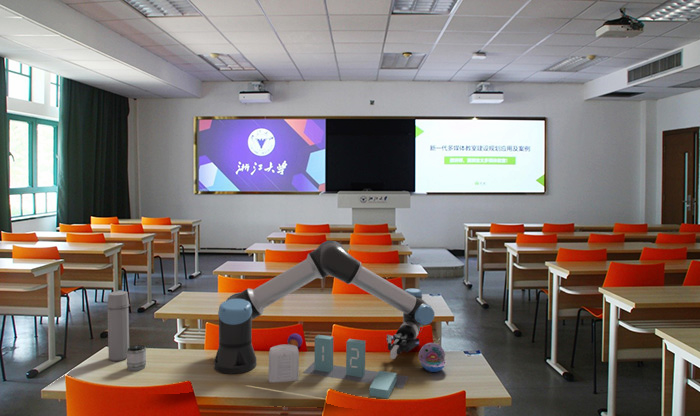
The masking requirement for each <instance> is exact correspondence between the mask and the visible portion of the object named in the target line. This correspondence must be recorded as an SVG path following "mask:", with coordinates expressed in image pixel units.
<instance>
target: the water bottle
mask: <svg viewBox="0 0 700 416" xmlns="http://www.w3.org/2000/svg"><path fill="white" fill-rule="evenodd" d="M107 295H108V297H107V305H106V308H107V347H108V348H107V349H108V359H109V360H110V361H113V362H120V361H124V360H127V349H128V348H129V347H130V322H129V321H130V320H129V315H130V314H129V307H130V305H131V304H130V300H129V294H128V291H125V290H117V291H111V292H109V293H108V294H107Z"/></svg>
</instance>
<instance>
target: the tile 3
mask: <svg viewBox="0 0 700 416" xmlns="http://www.w3.org/2000/svg"><path fill="white" fill-rule="evenodd" d="M377 372H378V374H377V376H376V377H375V379H374V381H373V382H372V384H371V383H370V386H369V396H371V397H375V398H376V397H377V398H383V399H389V397H390V395H391V394H392V392H393V390H394V388H395V387H394V386H395V384H396V382H397V375H398V373H397V372H390V371H384V370H379V371H377Z"/></svg>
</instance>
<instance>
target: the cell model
mask: <svg viewBox="0 0 700 416" xmlns="http://www.w3.org/2000/svg"><path fill="white" fill-rule="evenodd" d="M446 355H447V353H445V350H444V348H443V346H441V345H440V344H438V343H434V342H428V343H426V344H424V345H422V346H421V348H420V350H419V352H418V360H419V363H420V364H421V366H422V368H423V369H425V370H426V371H428V372H430V373H437V372H440V371H442V370H443V369H445V366H446V364H447V360H446V359H445V357H446Z"/></svg>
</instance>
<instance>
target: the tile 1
mask: <svg viewBox="0 0 700 416" xmlns="http://www.w3.org/2000/svg"><path fill="white" fill-rule="evenodd" d="M313 362H314V370H317V371H323V372H331V371H332V370H333V365H334V336H330V335H322V334H317V335H316V336H315V337H314V361H313Z"/></svg>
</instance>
